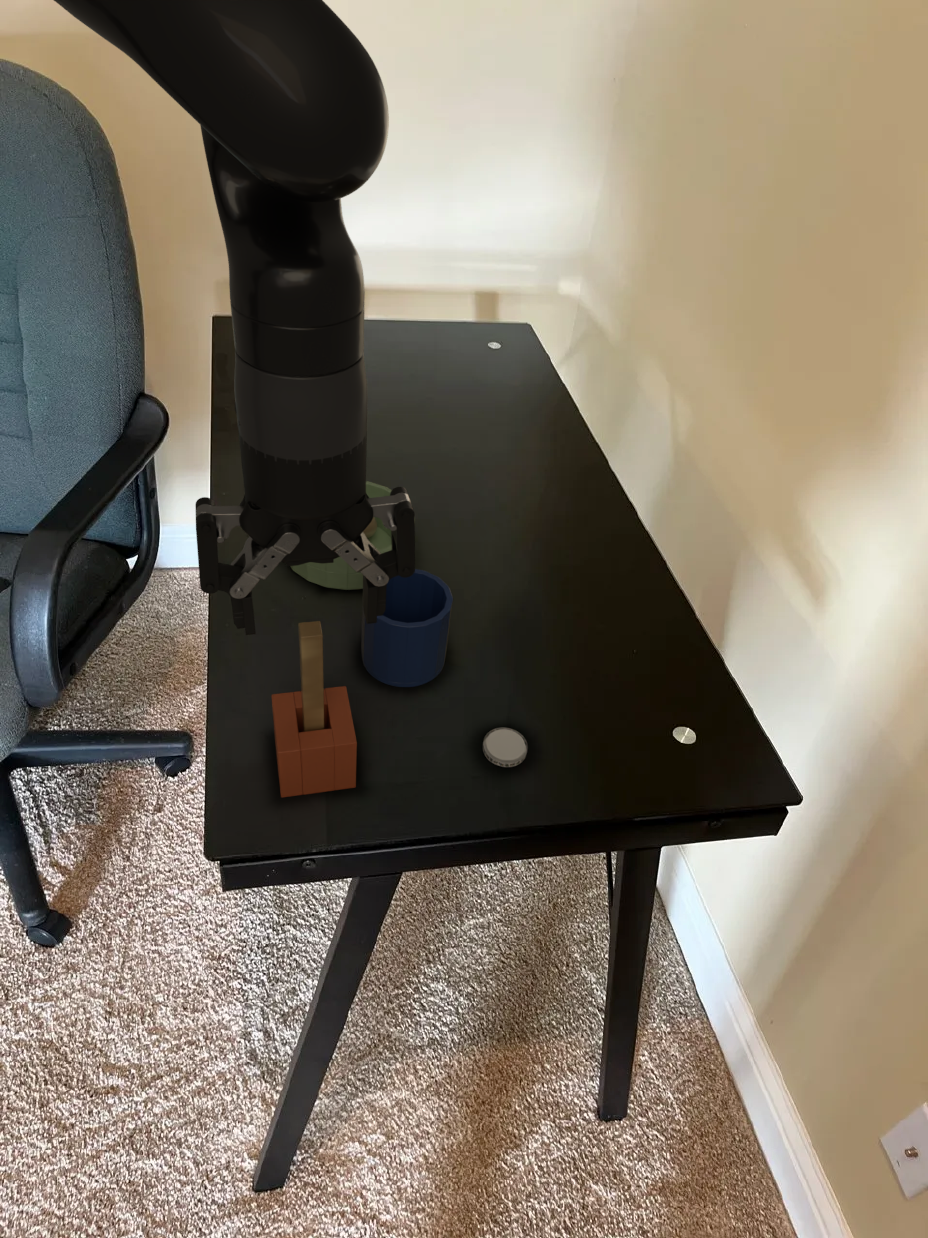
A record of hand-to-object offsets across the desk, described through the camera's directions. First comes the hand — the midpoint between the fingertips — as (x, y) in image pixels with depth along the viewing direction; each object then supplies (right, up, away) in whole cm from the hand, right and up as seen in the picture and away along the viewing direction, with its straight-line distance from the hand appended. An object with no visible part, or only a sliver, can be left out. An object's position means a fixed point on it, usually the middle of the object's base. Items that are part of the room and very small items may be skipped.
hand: (311, 621), depth 60 cm
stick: (-2, -12, +11) cm, 17 cm away
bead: (0, +11, +33) cm, 35 cm away
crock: (+5, -4, +22) cm, 23 cm away
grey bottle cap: (+15, -12, +15) cm, 24 cm away
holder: (-2, -12, +11) cm, 17 cm away
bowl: (-2, +8, +33) cm, 34 cm away
